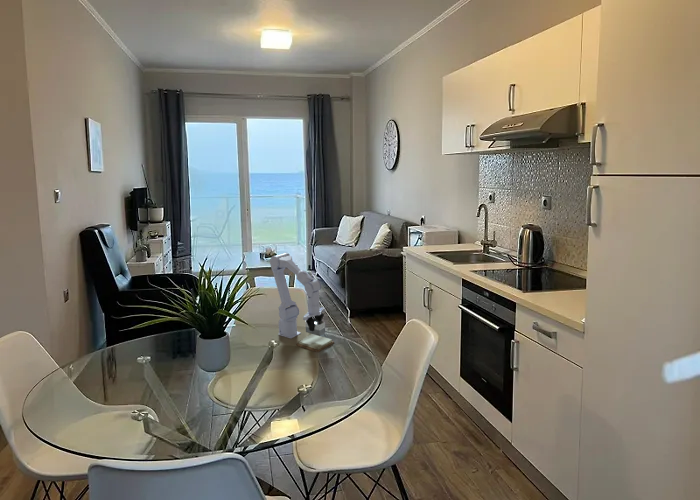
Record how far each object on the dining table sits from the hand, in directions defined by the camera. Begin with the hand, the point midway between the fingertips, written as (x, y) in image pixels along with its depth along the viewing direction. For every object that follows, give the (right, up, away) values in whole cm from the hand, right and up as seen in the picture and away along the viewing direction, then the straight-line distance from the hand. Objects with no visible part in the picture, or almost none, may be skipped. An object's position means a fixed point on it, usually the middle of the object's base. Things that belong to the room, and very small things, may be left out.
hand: (314, 329), depth 260 cm
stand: (0, -8, +2) cm, 8 cm away
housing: (0, -2, 0) cm, 2 cm away
